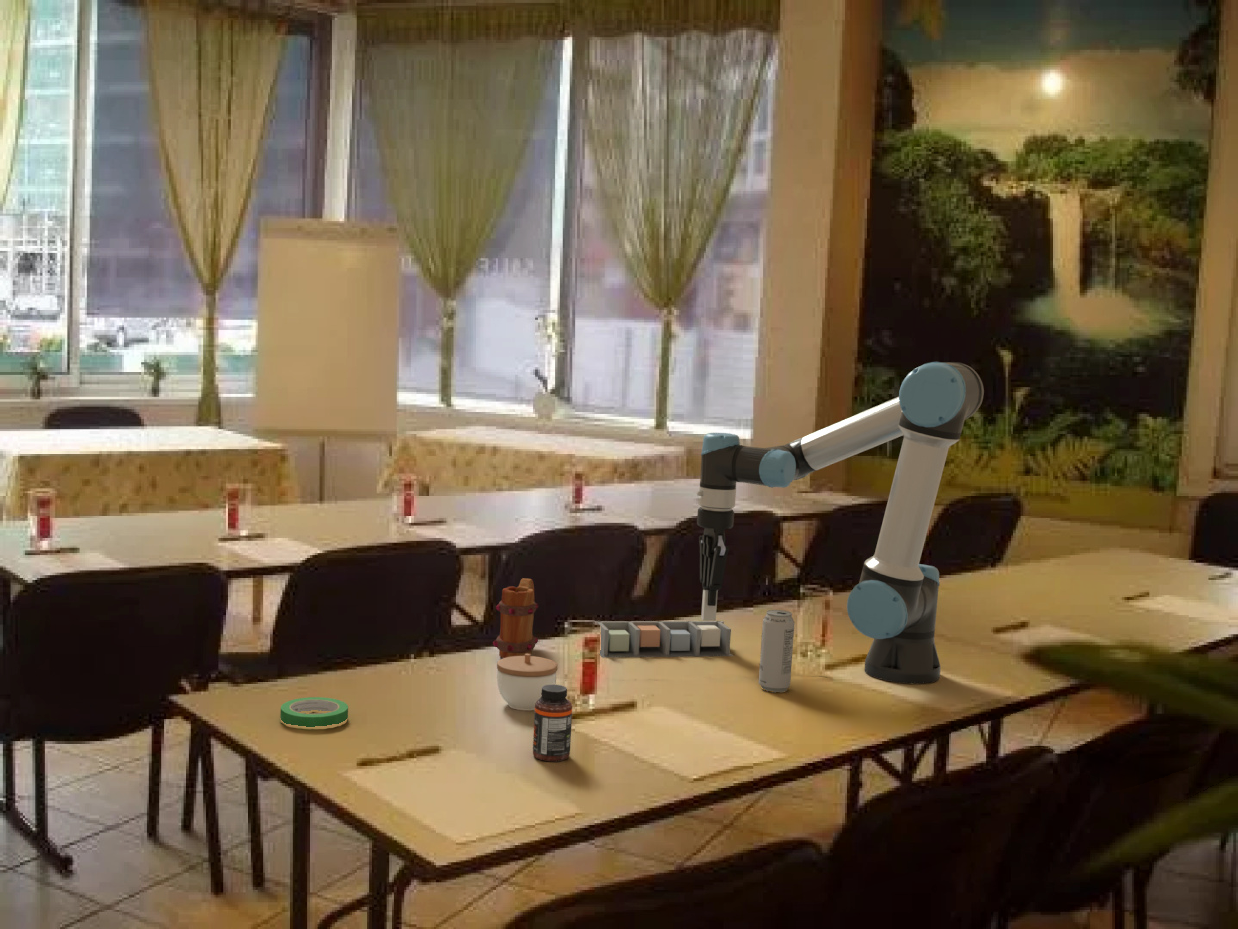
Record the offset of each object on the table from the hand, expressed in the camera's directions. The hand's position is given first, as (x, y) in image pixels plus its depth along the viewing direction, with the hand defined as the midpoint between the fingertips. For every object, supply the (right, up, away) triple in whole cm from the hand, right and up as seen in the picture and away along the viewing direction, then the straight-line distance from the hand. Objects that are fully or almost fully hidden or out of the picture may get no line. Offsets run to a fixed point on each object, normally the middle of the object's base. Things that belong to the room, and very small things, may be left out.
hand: (708, 619), depth 297 cm
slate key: (-6, -6, -1) cm, 9 cm away
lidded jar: (-35, -11, -43) cm, 57 cm away
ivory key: (0, -5, 0) cm, 5 cm away
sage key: (-19, -5, -4) cm, 20 cm away
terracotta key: (-13, -5, -3) cm, 14 cm away
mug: (-39, -7, -8) cm, 40 cm away
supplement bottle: (-29, -14, -70) cm, 77 cm away
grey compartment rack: (-10, -7, -2) cm, 12 cm away
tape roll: (-70, -11, -58) cm, 91 cm away
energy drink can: (+11, -11, -23) cm, 28 cm away
